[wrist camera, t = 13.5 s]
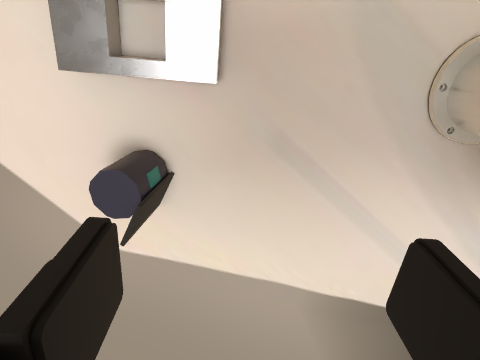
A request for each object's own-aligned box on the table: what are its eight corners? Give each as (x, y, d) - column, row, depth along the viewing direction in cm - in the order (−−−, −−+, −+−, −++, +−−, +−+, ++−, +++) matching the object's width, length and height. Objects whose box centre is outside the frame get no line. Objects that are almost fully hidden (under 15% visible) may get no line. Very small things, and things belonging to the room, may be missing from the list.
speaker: (187, 180, 39) (161, 219, 30) (159, 205, 41) (125, 249, 31) (145, 137, 37) (103, 164, 28) (117, 165, 39) (68, 199, 30)
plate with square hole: (223, -12, 30) (221, -19, 27) (218, 80, 34) (216, 83, 31) (62, -29, 30) (42, -38, 26) (75, 67, 33) (58, 69, 30)
